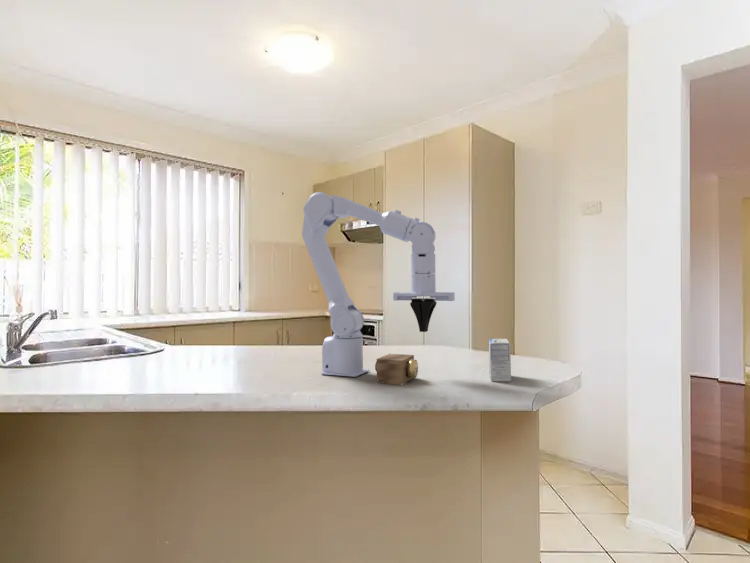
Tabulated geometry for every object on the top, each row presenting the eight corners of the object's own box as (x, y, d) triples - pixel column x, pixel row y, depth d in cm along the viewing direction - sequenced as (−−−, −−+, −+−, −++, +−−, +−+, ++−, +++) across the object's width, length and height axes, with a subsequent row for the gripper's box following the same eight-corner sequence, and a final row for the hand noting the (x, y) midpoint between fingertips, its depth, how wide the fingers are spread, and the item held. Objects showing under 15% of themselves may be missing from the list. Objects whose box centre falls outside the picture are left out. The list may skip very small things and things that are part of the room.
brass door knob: (373, 376, 107) (373, 359, 107) (380, 373, 110) (380, 356, 110) (412, 379, 103) (412, 361, 103) (418, 376, 107) (417, 358, 107)
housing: (376, 382, 104) (376, 359, 104) (389, 375, 112) (389, 353, 112) (402, 384, 102) (402, 360, 102) (414, 377, 109) (413, 355, 109)
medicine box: (511, 382, 103) (510, 343, 103) (490, 381, 104) (489, 342, 104) (508, 375, 111) (508, 338, 111) (488, 374, 112) (488, 338, 112)
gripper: (388, 274, 111) (388, 332, 111) (449, 273, 105) (449, 334, 105) (398, 274, 117) (399, 329, 117) (456, 273, 111) (457, 331, 111)
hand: (423, 331), depth 111 cm, fingers closed
